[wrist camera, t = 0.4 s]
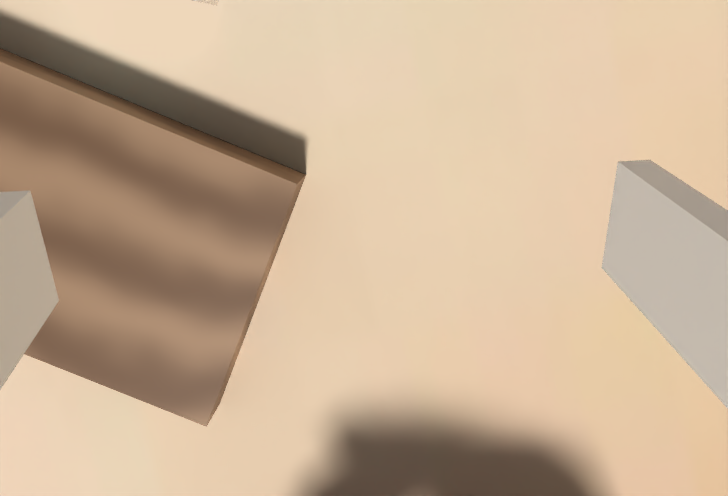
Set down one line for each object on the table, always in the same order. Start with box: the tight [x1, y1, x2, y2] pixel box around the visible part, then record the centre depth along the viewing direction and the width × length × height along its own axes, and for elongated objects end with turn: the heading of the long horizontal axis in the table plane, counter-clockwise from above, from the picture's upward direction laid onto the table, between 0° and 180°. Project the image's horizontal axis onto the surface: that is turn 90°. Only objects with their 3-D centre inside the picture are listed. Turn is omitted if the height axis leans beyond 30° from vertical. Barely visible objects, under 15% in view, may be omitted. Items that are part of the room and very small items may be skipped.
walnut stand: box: [0, 49, 306, 426], centre depth 42 cm, size 18×24×3 cm
